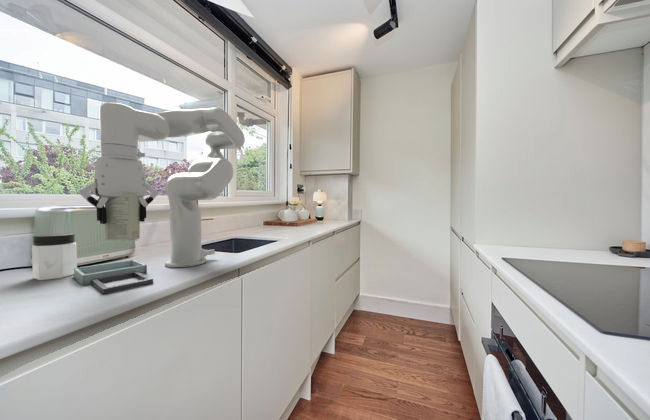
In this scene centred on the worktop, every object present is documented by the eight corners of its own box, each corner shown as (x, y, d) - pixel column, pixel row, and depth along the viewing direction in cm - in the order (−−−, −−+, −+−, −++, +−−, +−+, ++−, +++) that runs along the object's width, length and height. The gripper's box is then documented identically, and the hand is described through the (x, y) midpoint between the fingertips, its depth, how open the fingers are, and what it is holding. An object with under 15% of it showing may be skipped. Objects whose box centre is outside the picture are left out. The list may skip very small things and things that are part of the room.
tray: (133, 267, 83) (133, 259, 82) (146, 273, 75) (146, 265, 75) (73, 276, 71) (73, 268, 71) (82, 285, 64) (82, 275, 64)
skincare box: (139, 238, 68) (141, 194, 68) (130, 240, 64) (132, 193, 64) (113, 238, 67) (115, 193, 67) (102, 240, 63) (104, 192, 63)
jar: (26, 282, 66) (25, 237, 66) (38, 275, 73) (37, 234, 73) (73, 277, 71) (72, 235, 71) (80, 270, 78) (79, 232, 78)
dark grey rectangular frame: (137, 275, 73) (137, 271, 73) (153, 283, 66) (153, 278, 66) (91, 284, 65) (91, 279, 65) (103, 294, 58) (103, 289, 58)
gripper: (153, 159, 74) (155, 219, 75) (70, 150, 60) (73, 224, 61) (164, 157, 69) (165, 220, 70) (76, 146, 55) (80, 226, 56)
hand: (123, 221), depth 65 cm, fingers closed on skincare box, 7 cm apart
